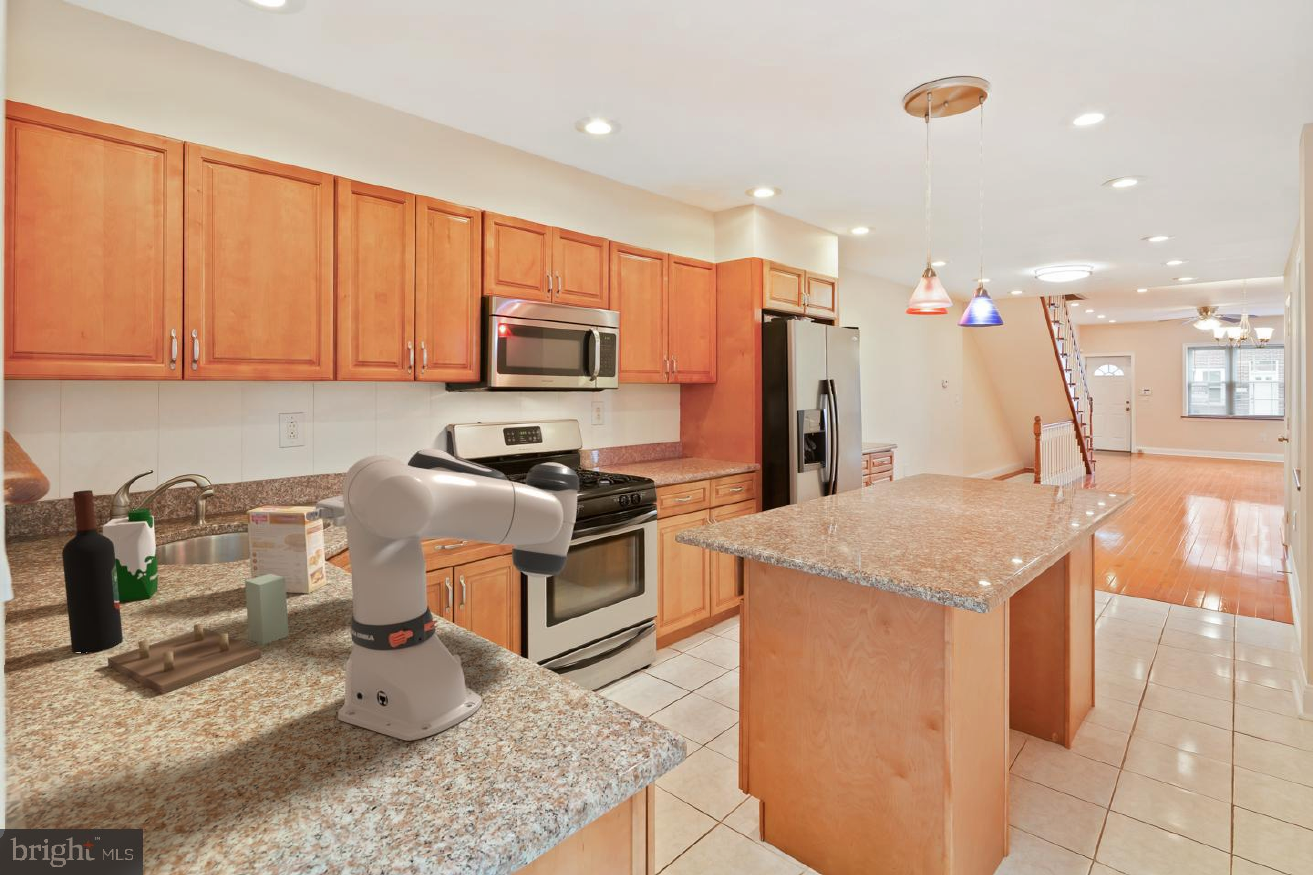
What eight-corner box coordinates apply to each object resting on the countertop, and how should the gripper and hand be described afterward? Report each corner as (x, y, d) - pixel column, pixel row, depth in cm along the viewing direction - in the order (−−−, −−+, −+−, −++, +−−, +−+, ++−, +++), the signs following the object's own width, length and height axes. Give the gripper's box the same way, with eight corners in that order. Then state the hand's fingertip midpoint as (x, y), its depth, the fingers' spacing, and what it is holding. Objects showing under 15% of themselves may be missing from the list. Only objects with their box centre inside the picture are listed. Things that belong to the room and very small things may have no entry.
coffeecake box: (327, 584, 165) (323, 506, 163) (308, 594, 158) (303, 512, 156) (271, 581, 168) (266, 504, 165) (250, 591, 161) (245, 510, 158)
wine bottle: (64, 648, 129) (48, 493, 125) (111, 634, 135) (96, 486, 132) (83, 656, 125) (67, 497, 122) (130, 641, 132) (116, 490, 128)
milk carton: (154, 599, 155) (146, 513, 153) (104, 605, 151) (96, 517, 149) (163, 587, 163) (156, 506, 161) (116, 593, 159) (108, 509, 157)
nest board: (261, 657, 125) (259, 634, 124) (162, 694, 111) (160, 668, 111) (205, 635, 135) (203, 613, 134) (108, 666, 121) (106, 642, 121)
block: (288, 636, 134) (285, 577, 133) (263, 645, 130) (259, 584, 129) (274, 631, 137) (270, 573, 136) (249, 639, 133) (244, 580, 131)
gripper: (409, 527, 149) (353, 541, 137) (351, 515, 159) (294, 528, 147) (408, 498, 148) (351, 510, 136) (350, 489, 158) (292, 499, 147)
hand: (321, 519), depth 142 cm, fingers open, 8 cm apart
